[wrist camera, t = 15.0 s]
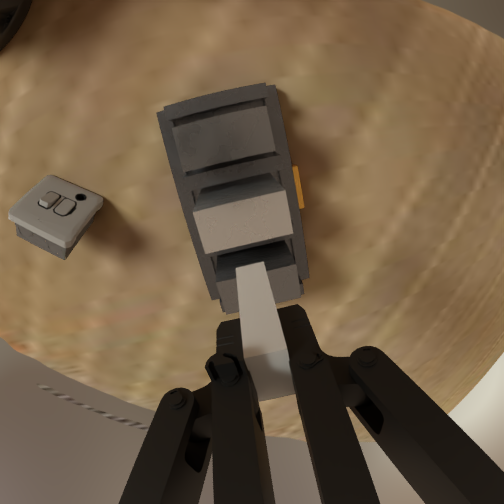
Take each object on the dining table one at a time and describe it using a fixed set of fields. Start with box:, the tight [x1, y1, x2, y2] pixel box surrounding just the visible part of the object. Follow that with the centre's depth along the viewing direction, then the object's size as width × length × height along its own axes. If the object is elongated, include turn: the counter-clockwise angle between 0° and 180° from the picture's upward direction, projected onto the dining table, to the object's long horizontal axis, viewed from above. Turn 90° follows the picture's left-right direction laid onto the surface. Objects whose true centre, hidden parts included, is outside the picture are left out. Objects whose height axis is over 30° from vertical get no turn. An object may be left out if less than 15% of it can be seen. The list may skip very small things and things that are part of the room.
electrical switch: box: [9, 175, 103, 260], centre depth 28 cm, size 9×5×9 cm, turn 63°
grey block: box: [193, 173, 293, 254], centre depth 29 cm, size 4×8×9 cm, turn 102°
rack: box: [157, 83, 309, 314], centre depth 30 cm, size 24×14×9 cm, turn 12°
